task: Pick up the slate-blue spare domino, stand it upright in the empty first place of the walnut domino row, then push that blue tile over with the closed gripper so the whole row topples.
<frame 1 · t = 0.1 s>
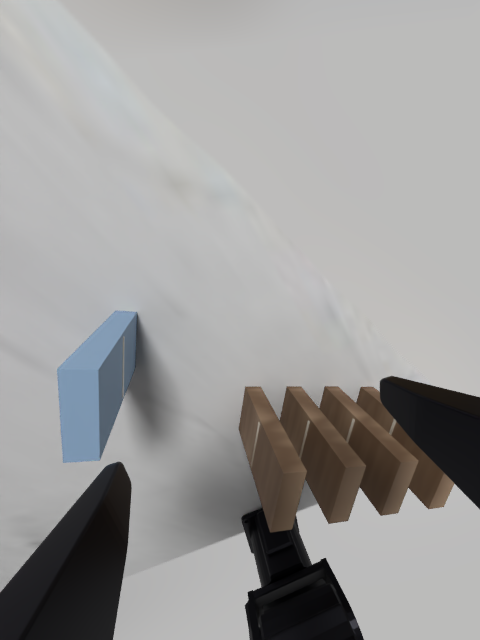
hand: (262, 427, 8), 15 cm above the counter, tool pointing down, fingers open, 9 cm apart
domino 2: (289, 407, 27), on the counter
domino 3: (326, 406, 28), on the counter
domino 4: (361, 406, 29), on the counter
blue domino: (125, 340, 21), on the counter
domino 1: (249, 408, 26), on the counter
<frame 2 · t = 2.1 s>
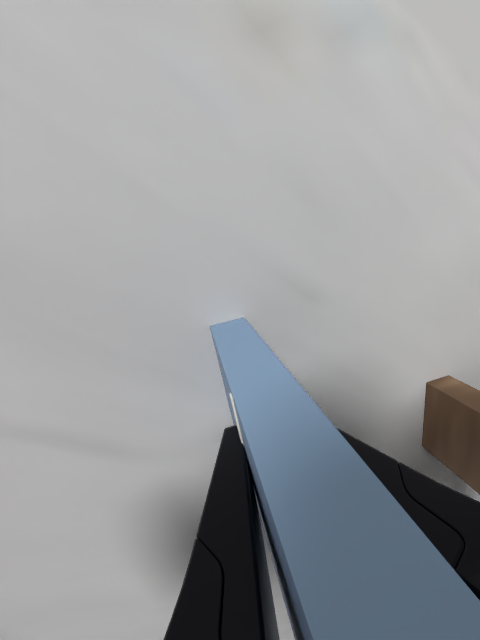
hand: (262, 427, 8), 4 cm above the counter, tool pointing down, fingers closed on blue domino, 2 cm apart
blue domino: (237, 369, 12), on the counter, touching gripper
domino 1: (434, 412, 16), on the counter
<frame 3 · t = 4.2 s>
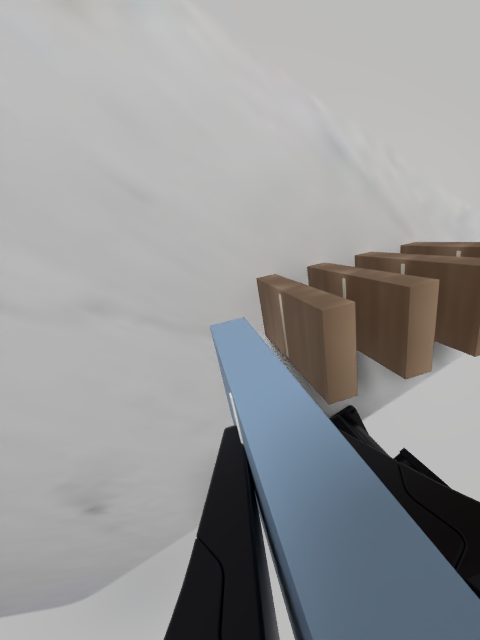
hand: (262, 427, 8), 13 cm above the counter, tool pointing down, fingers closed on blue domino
domino 2: (318, 293, 22), on the counter
domino 3: (363, 282, 22), on the counter
domino 4: (407, 271, 23), on the counter
blue domino: (237, 369, 12), point 9 cm above the counter, touching gripper
domino 1: (270, 305, 21), on the counter
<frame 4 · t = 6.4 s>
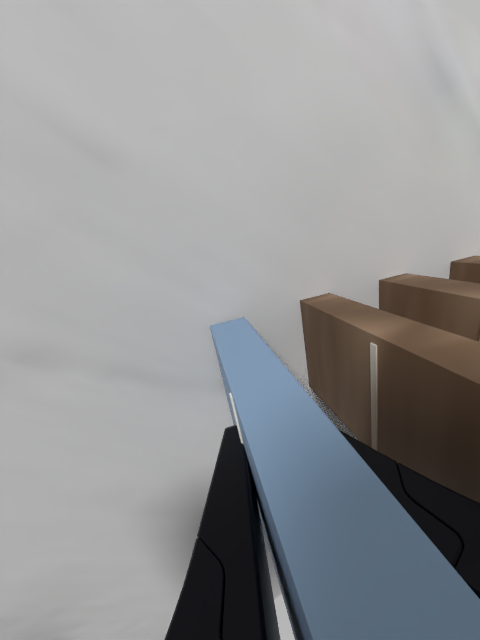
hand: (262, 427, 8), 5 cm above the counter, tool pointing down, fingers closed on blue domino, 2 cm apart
domino 2: (392, 321, 14), on the counter
domino 3: (458, 302, 14), on the counter
blue domino: (237, 369, 12), on the counter, touching gripper
domino 1: (318, 342, 13), on the counter
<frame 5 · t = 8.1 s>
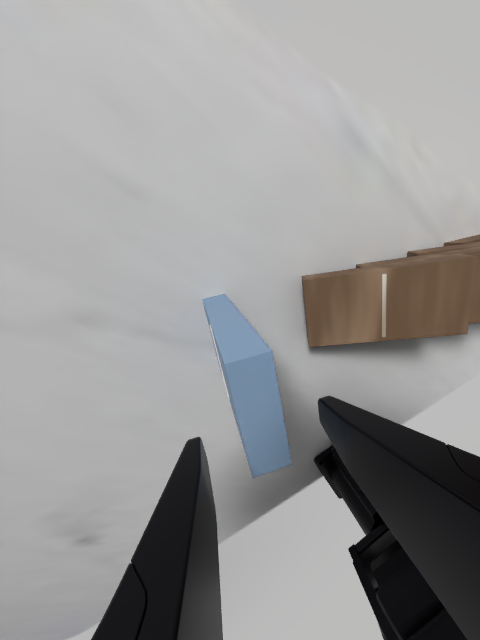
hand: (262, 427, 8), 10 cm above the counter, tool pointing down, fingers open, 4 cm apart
domino 2: (360, 298, 19), point 1 cm above the counter, tilted 68°, touching domino 1, domino 3
domino 3: (410, 284, 20), point 1 cm above the counter, tilted 68°, touching domino 2, domino 4
blue domino: (221, 329, 18), on the counter
domino 1: (305, 311, 18), point 1 cm above the counter, tilted 68°, touching domino 2
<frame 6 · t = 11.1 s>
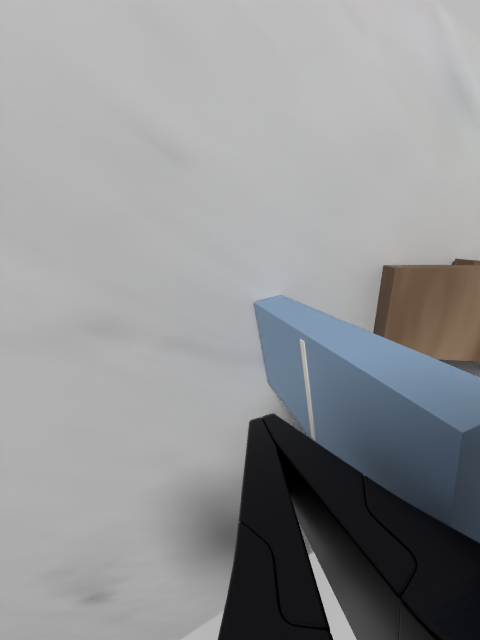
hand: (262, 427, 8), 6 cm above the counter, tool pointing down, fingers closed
blue domino: (274, 340, 14), on the counter
domino 1: (382, 310, 14), point 1 cm above the counter, tilted 68°, touching domino 2
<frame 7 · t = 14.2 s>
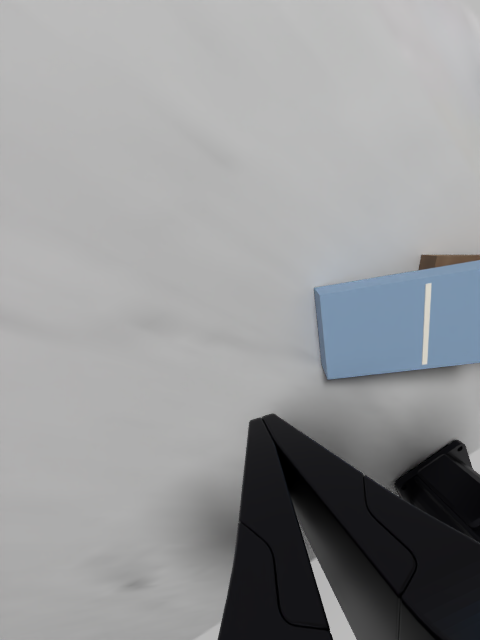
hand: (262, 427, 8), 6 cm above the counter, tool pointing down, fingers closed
blue domino: (320, 333, 14), point 1 cm above the counter, tilted 72°, touching domino 1
domino 1: (420, 298, 15), point 1 cm above the counter, tilted 68°, touching blue domino, domino 2
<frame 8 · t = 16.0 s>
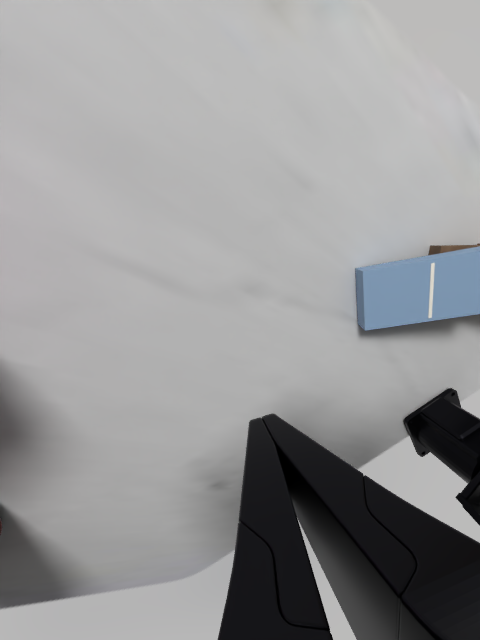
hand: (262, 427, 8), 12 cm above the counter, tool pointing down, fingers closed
blue domino: (360, 299, 21), point 1 cm above the counter, tilted 73°, touching domino 1
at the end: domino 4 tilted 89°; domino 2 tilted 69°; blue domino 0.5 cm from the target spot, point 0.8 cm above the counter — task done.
